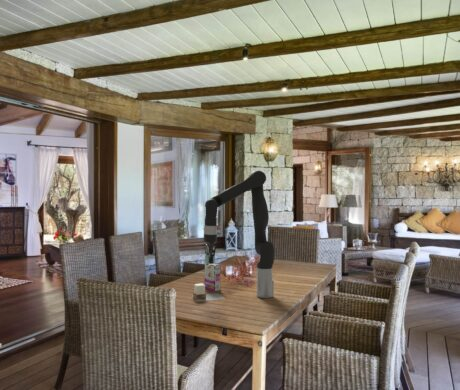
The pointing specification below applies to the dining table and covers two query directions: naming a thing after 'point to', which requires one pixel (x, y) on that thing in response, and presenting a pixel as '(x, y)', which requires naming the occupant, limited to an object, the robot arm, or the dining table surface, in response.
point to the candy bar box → (212, 276)
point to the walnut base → (199, 296)
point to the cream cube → (199, 288)
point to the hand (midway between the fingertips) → (209, 262)
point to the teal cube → (208, 259)
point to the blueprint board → (212, 297)
